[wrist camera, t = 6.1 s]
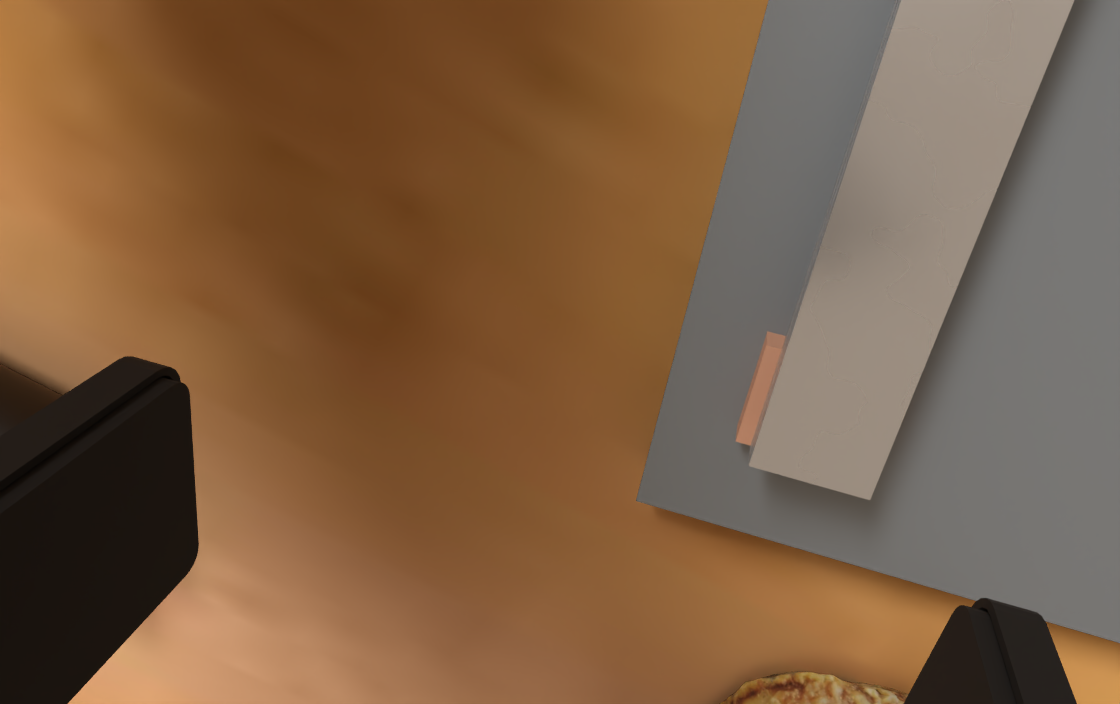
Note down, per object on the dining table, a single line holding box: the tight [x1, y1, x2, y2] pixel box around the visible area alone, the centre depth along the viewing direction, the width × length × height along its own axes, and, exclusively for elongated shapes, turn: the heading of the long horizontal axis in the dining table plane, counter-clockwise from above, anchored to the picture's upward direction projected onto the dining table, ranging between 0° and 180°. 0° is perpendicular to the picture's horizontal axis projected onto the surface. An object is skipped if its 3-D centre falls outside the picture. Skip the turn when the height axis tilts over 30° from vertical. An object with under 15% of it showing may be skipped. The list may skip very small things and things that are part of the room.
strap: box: [749, 0, 1074, 500], centre depth 18 cm, size 17×3×2 cm, turn 170°
